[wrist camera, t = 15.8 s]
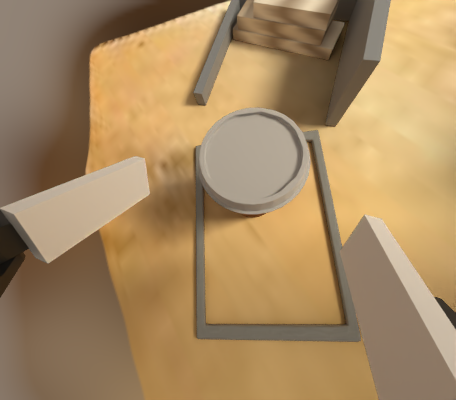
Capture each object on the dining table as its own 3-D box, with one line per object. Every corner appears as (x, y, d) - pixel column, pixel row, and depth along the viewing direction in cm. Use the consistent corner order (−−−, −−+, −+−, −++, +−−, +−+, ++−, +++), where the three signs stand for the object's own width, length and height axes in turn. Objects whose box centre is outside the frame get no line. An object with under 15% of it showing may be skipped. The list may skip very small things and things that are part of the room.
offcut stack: (339, 36, 31) (358, -11, 26) (327, 61, 30) (344, 19, 25) (247, 19, 36) (245, -25, 30) (233, 41, 35) (229, 0, 29)
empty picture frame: (196, 339, 22) (195, 131, 30) (200, 333, 24) (198, 137, 31) (362, 342, 20) (315, 114, 27) (354, 335, 21) (312, 121, 29)
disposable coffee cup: (297, 179, 25) (333, 122, 14) (270, 241, 24) (285, 233, 12) (237, 156, 28) (225, 90, 16) (208, 211, 26) (172, 180, 14)
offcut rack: (359, 15, 31) (405, -87, 22) (335, 126, 27) (380, 60, 17) (235, 10, 36) (228, -75, 27) (197, 104, 32) (173, 43, 22)
